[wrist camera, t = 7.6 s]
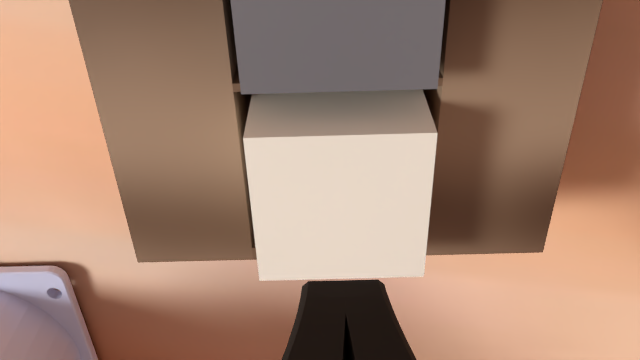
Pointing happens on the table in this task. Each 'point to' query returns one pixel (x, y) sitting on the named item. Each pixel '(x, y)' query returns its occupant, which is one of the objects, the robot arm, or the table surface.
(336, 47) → the charcoal key
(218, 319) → the table surface
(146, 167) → the key box
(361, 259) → the ivory key
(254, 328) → the table surface
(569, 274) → the table surface
